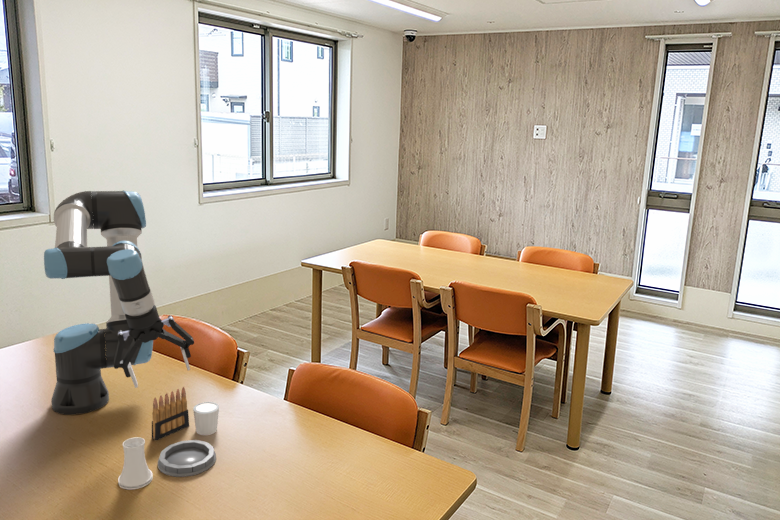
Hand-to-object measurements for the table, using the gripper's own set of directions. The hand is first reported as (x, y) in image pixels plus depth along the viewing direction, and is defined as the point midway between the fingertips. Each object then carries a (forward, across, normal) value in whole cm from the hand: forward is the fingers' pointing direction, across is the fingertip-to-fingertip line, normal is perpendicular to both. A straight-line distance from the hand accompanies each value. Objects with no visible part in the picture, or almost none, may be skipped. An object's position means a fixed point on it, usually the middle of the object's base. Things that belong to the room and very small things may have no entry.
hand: (162, 376), depth 161 cm
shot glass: (+18, +6, -5) cm, 20 cm away
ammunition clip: (+16, -2, -3) cm, 17 cm away
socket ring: (+14, 0, -19) cm, 24 cm away
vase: (+11, -12, -23) cm, 28 cm away
